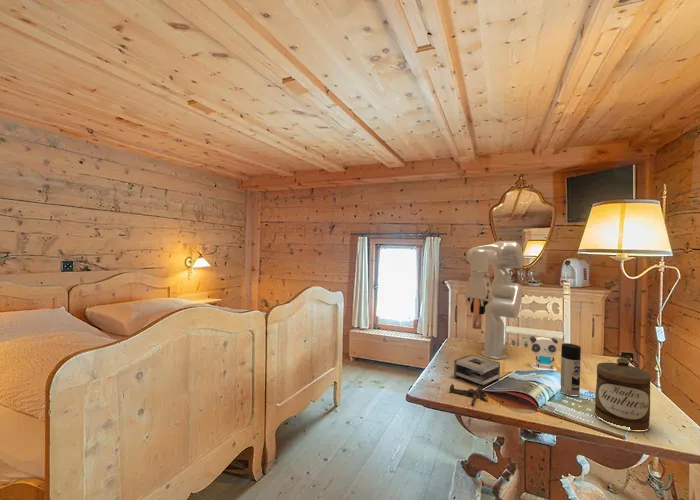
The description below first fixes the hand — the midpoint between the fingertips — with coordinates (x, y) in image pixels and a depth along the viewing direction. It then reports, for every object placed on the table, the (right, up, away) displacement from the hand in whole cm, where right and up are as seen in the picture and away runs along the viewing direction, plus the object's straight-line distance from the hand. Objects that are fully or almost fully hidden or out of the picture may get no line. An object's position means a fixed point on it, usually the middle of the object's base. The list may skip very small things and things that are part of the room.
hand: (477, 312), depth 162 cm
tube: (0, -7, 0) cm, 7 cm away
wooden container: (+34, -30, -44) cm, 63 cm away
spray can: (+29, -29, -23) cm, 47 cm away
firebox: (-4, -28, -10) cm, 30 cm away
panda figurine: (+35, -29, +7) cm, 46 cm away
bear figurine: (-13, -29, -27) cm, 41 cm away
